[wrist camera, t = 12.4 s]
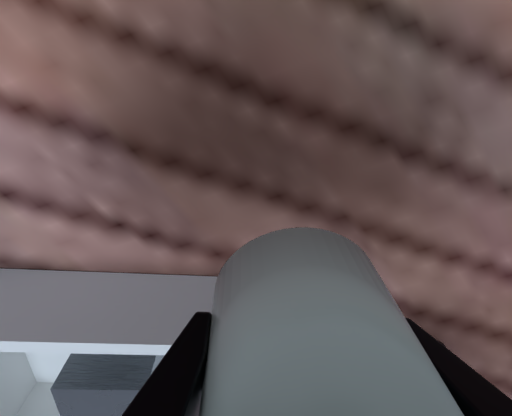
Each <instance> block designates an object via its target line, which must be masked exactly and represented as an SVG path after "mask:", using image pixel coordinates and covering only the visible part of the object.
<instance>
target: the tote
mask: <svg viewBox="0 0 512 416" xmlns="http://www.w3.org/2000/svg"><path fill="white" fill-rule="evenodd" d="M216 280H217V277H216V276H189V275H162V274H135V273H109V272H82V271H55V270H28V269H1V268H0V416H60V414H59V411H58V409H57V406H56V403H55V401H54V398H53V395H52V393H51V390H50V389H51V387H52V385H53V384H54V382H55V380H56V378H57V377H58V375H59V373H60V371H61V370H62V368H63V366H64V364H65V363H66V361H67V359H68V357H69V356H70V354H71V353H74V354H122V355H165V354H166V353H167V351H168V350H169V349H170V347H171V346H172V344H173V343H174V342H175V340H176V339H177V337H178V336H179V335H180V333H181V332H182V330H183V329H184V328H185V326H186V325H187V323H188V322H189V321H190V319H191V318H192V317H193V315H194V314H195V313H196V312H210V313H211V314H212V306H213V298H214V290H215V284H216Z"/></svg>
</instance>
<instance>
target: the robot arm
mask: <svg viewBox="0 0 512 416" xmlns="http://www.w3.org/2000/svg"><path fill="white" fill-rule="evenodd" d="M406 320H407V322H408V323H409V325H410V327H411V328H412V330H413V332H414V333H415V335H416V337H417V338H418V340H419V342H420V343H421V345H422V347H423V348H424V350H425V352H426V353H427V355H428V357H429V358H430V360H431V362H432V363H433V365H434V367H435V368H436V370H437V372H438V373H439V375H440V376H441V378H442V380H443V381H444V383H445V385H446V386H447V388H448V390H449V391H450V393H451V395H452V396H453V398H454V400H455V401H456V403H457V405H458V406H459V408H460V410H461V411H462V413H463V415H464V416H512V400H511V399H510V398H509V397H507V396H506V395H505V394H504V393H502V392H501V391H500V390H499V389H497V388H496V387H495V386H494V385H492V384H491V383H490V382H489V381H487V380H486V379H485V378H484V377H482V376H481V375H480V374H478V373H477V372H476V371H475V370H473V369H472V368H471V367H470V366H468V365H467V364H466V363H465V362H463V361H462V360H461V359H460V358H458V357H457V356H456V355H455V354H453V353H452V352H451V351H450V350H448V349H447V348H446V347H445V345H444V344H441V343H439V342H438V341H437V340H436V339H434V338H433V337H432V336H431V335H429V334H428V333H427V332H426V331H424V330H423V329H422V328H421V327H419V326H418V325H417V324H416V323H414V322H413V321H412V320H410V319H409V318H406ZM210 323H211V313H210V312H196V313H195V314H194V315H193V317H192V318H191V319H190V321H189V322H188V323H187V325H186V326H185V328H184V329H183V330H182V332H181V333H180V335H179V336H178V337H177V339H176V340H175V342H174V343H173V344H172V346H171V347H170V349H169V350H168V351H167V353H166V354H165V355H164V357H163V358H162V360H161V361H160V362H159V364H158V365H157V367H156V368H155V369H154V371H153V372H152V374H151V375H150V376H149V378H148V379H147V380H146V382H145V383H144V385H143V386H142V387H141V389H140V390H139V392H138V393H137V394H136V396H135V397H134V399H133V400H132V401H131V403H130V404H129V405H128V407H127V408H126V410H125V411H124V412H123V414H122V415H121V416H199V410H200V402H201V394H202V386H203V378H204V370H205V362H206V355H207V347H208V339H209V331H210Z"/></svg>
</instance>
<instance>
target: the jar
mask: <svg viewBox="0 0 512 416" xmlns="http://www.w3.org/2000/svg"><path fill="white" fill-rule="evenodd" d="M199 416H464V415H463V413H462V411H461V410H460V408H459V406H458V405H457V403H456V401H455V400H454V398H453V396H452V395H451V393H450V391H449V390H448V388H447V386H446V385H445V383H444V381H443V380H442V378H441V376H440V375H439V373H438V372H437V370H436V368H435V367H434V365H433V363H432V362H431V360H430V358H429V357H428V355H427V353H426V352H425V350H424V348H423V347H422V345H421V343H420V342H419V340H418V338H417V337H416V335H415V333H414V332H413V330H412V328H411V327H410V325H409V323H408V322H407V320H406V318H405V317H404V315H403V314H402V312H401V310H400V309H399V307H398V305H397V304H396V302H395V300H394V299H393V297H392V295H391V294H390V292H389V290H388V289H387V287H386V285H385V284H384V282H383V280H382V279H381V277H380V275H379V274H378V272H377V270H376V269H375V267H374V265H373V264H372V262H371V261H370V259H369V258H368V256H367V255H366V253H365V252H364V251H363V250H362V249H361V248H360V247H359V246H358V245H356V244H355V243H354V242H352V241H351V240H349V239H347V238H346V237H344V236H342V235H339V234H337V233H334V232H331V231H327V230H323V229H317V228H308V227H306V228H288V229H282V230H278V231H274V232H270V233H267V234H265V235H262V236H260V237H258V238H256V239H254V240H252V241H250V242H248V243H247V244H245V245H244V246H242V247H241V248H240V249H238V250H237V251H236V252H235V253H234V254H233V255H232V256H231V257H230V258H229V259H228V260H227V261H226V263H225V264H224V266H223V267H222V269H221V271H220V273H219V275H218V277H217V280H216V284H215V290H214V298H213V306H212V314H211V323H210V331H209V339H208V347H207V355H206V362H205V370H204V378H203V386H202V394H201V402H200V410H199Z"/></svg>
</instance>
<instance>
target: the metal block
mask: <svg viewBox="0 0 512 416" xmlns="http://www.w3.org/2000/svg"><path fill="white" fill-rule="evenodd" d="M163 357H164V355H122V354H74V353H71V354H70V356H69V357H68V359H67V361H66V363H65V364H64V366H63V368H62V370H61V371H60V373H59V375H58V377H57V378H56V380H55V382H54V384H53V385H52V387H51V389H50V390H51V393H52V395H53V398H54V401H55V403H56V406H57V409H58V411H59V414H60V416H121V415H122V414H123V412H124V411H125V410H126V408H127V407H128V405H129V404H130V403H131V401H132V400H133V399H134V397H135V396H136V394H137V393H138V392H139V390H140V389H141V387H142V386H143V385H144V383H145V382H146V380H147V379H148V378H149V376H150V375H151V374H152V372H153V371H154V369H155V368H156V367H157V365H158V364H159V362H160V361H161V360H162V358H163Z"/></svg>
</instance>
